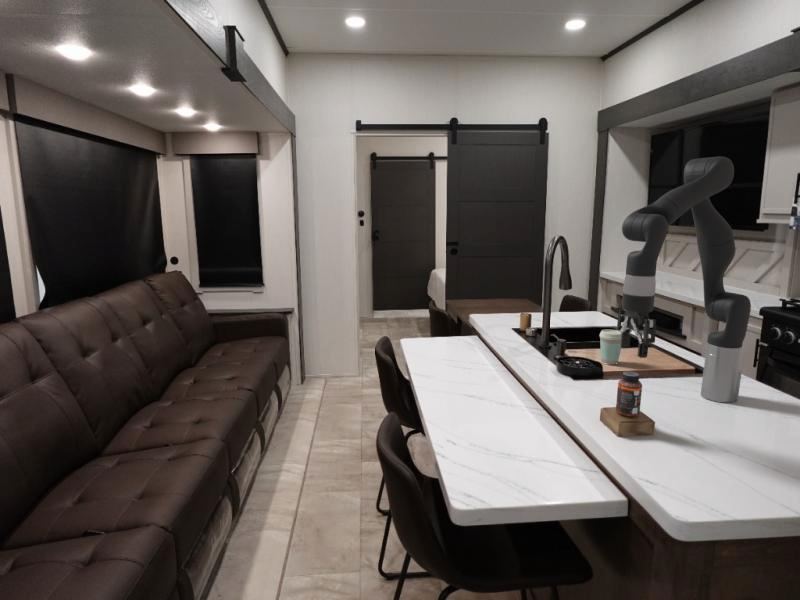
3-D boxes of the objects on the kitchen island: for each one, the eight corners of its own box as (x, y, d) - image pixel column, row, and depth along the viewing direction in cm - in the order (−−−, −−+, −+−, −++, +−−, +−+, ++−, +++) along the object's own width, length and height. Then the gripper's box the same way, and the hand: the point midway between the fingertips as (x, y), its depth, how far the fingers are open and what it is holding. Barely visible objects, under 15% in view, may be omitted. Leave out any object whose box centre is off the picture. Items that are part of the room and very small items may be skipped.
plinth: (633, 419, 150) (634, 405, 149) (653, 434, 140) (655, 420, 140) (599, 420, 149) (600, 407, 148) (617, 436, 139) (619, 422, 138)
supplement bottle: (641, 418, 141) (645, 378, 138) (617, 416, 142) (621, 376, 139) (636, 410, 146) (640, 370, 144) (613, 408, 147) (617, 369, 145)
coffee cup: (623, 361, 201) (626, 331, 199) (619, 367, 194) (622, 336, 192) (599, 358, 206) (602, 327, 203) (594, 363, 198) (597, 332, 196)
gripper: (669, 297, 131) (662, 360, 134) (637, 286, 144) (632, 344, 148) (640, 297, 130) (634, 361, 133) (611, 287, 144) (606, 345, 147)
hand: (633, 352), depth 140 cm, fingers open, 8 cm apart
